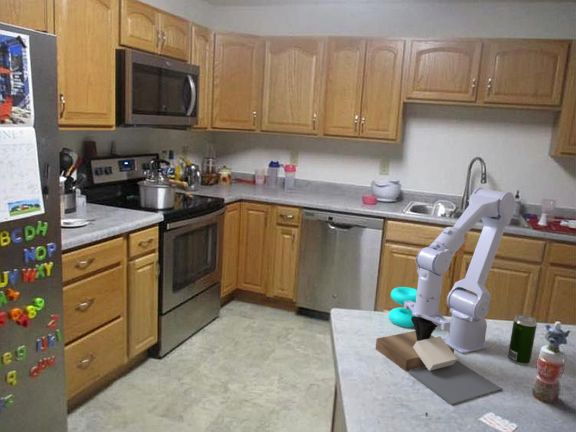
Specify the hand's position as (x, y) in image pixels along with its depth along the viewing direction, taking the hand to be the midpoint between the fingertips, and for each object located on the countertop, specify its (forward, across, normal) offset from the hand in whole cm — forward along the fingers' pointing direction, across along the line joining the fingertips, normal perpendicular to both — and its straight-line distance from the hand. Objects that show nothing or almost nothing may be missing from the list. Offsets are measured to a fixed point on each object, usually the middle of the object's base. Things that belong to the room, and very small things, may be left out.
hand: (422, 344), depth 119 cm
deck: (+4, -2, 0) cm, 5 cm away
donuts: (+4, -20, +11) cm, 23 cm away
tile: (+1, +4, 0) cm, 4 cm away
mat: (+4, +12, 0) cm, 12 cm away
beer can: (+4, +10, +25) cm, 27 cm away
